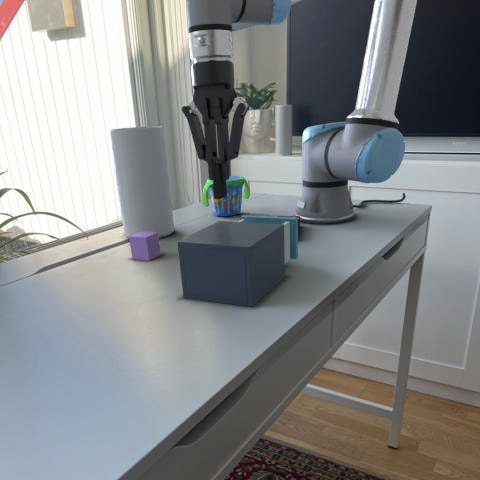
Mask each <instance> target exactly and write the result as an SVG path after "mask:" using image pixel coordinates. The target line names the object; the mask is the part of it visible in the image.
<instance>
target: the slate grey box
mask: <svg viewBox="0 0 480 480" xmlns="http://www.w3.org/2000/svg"><path fill="white" fill-rule="evenodd" d="M176 245H177V252H178V253H177V254H178V261H179V270H180V279H181V287H182V298H183V299H188V300H194V301H195V300H197V301H202V302H203V301H204V302H211V303H219V304H226V305H235V306H243V307H250V308H253V307H254V306H256V304H257V303H259V302H260V301H261V300H262V299H263V298H264V297H265V296H266V295H267V294H269V292H270V291H271V290H273V289H274V288H275V287H276V286H277V285H278V284H279V283H280V282H281V281H283V279H284V278H286V263H285V248H284V224H270V223H250V222H237V221H231V220H229V221H228V220H219V221H218V220H217V221H216V222H214V223H213V224H210V225H208V226H207V227H204V228H202V229H200V230H198V231H196V232H194V233H192V234H190V235H188V236H186V237H184V238H182V239H180V240H178V241H176Z"/></svg>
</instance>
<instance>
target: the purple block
mask: <svg viewBox="0 0 480 480" xmlns="http://www.w3.org/2000/svg"><path fill="white" fill-rule="evenodd" d="M128 239H129V244H130V245H129V246H130V253H131V260H137V261H138V260H139V261H147V262H151V261H152V260H154V259H156V258H158V257H160V256H161V255H162V253H161V251H162V250H161V244H160V243H161V242H160V238H159V236H158V232H146V231H141V232H138V233H136V234H133V235H131V236H129V238H128Z"/></svg>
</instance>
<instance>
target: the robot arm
mask: <svg viewBox="0 0 480 480" xmlns="http://www.w3.org/2000/svg"><path fill="white" fill-rule="evenodd" d="M185 1H186V2H185V4H186V16H187V27H188V40H189V41H188V42H189V43H188V44H189V53H190V55H189V56H190V59H191V61H193V63H192V64H191V66H190V68H191V69H190V71H191V81H192V87H193V93H192V97H191V101H190V102H188V104H187V105H183V106H182V107H181V112H182V114H183V115H184V117H185V118H186V119H187V123H188V127H189V131H190V134H191V137H192V141H193V145H194V148H195V152H196V155H197V158H198V160H200V161H201V160H202V161H204V162H206V163H207V170H208V178H209V179H210V180H213V189H214V199H222V198H224V197H227V188H226V180H229V178H230V176H231V174H230V173H231V172H230V162H231V161H232V160H235V159H237V158H238V157H239V154H240V148H241V142H242V135H243V129H244V123H245V117H246V115H247V113H248V111H249V109H250V104H249V102H243V100H241V99H240V98H238V93H237V92H236V89H235V67H234V66H235V65H234V63H233V61H231V59H233V57H234V42H233V32H237V31H242V30H245V29H248V28H252V27H256V26H266V27H270V26H278V25H281V24H283V23H284V22H285V21H286V20H287V18H288V16H289V14H290V12H291V7H292V5H294V4H297V3H300V2H301V1H303V0H185ZM417 3H418V0H374V3H373V9H372V13H371V14H372V15H371V19H370V25H369V30H368V36H367V41H366V45H365V46H366V47H365V53H364V57H363V64H362V69H361V75H360V81H359V85H358V91H357V97H356V102H355V108H354V110H353V111H352V112H351V113H350V114H349V115H348V116H346V121H337V122H329V123H322V124H317V125H312V126H307V127H306V128H305V129H304V130H303V133H302V139H301V140H302V141H301V158H302V159H301V168H302V170H301V173H302V174H301V177H302V180H301V181H302V185H301V186H302V189H301V192H300V195H299V198H298V200H297V204H296V209H295V216H300V222H302V223H307V224H317V225H318V224H322V225H323V224H324V225H325V224H326V225H327V224H338V223H344V222H347V221H351V220H352V219H354V218H355V209H361V208H363V207H364V204H366V203H367V204H368V203H382V204H386V203H387V204H392V203H393V204H397V203H402V202H403V201H404V200H405V199H406V198H407V196H406V193H405V192H402V198H400V199H394V200H393V199H392V200H391V199H390V200H389V199H366V200H365V199H364V200H362V201H361V202H360V204H359V205H358V204H353V201H352V196H351V194H350V189H349V181H351V182H357V183H358V182H359V183H362V184H381V183H383V182H386V181H388V180H389V179H390V178H391V177H392V176H394V175H395V174H396V172H397V171H398V170H399V168H400V166H401V165H402V162H403V159H404V157H405V151H406V142H404V140H405V138H404V136H403V134H402V132H400V130H399V126H400V121H399V119H398V118H397V117H396V115H395V110H396V105H397V101H398V95H399V92H400V86H401V81H402V76H403V72H404V66H405V61H406V58H407V52H408V47H409V41H410V37H411V33H412V27H413V24H414V23H413V22H414V18H415V13H416V7H417ZM232 109H233V116H232V121H231V128H230V132H229V122H230V113H231V111H232ZM198 112H199V113H200V114H201V119H202V124H203V127H202V124H201V119H200V116H199V115H198ZM203 128H204V129H203ZM203 130H204V131H203ZM229 134H230V135H229ZM354 208H355V209H354Z"/></svg>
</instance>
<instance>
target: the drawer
mask: <svg viewBox="0 0 480 480" xmlns="http://www.w3.org/2000/svg"><path fill="white" fill-rule="evenodd" d="M236 222H250V223H270V224H284V248H285V264H287V263H288V262H289V261H290V260H297V259H298V258H299V230H298V218H292V217H277V216H268V215H245V214H243V215H241V216H240V219H239V220H237V221H236Z"/></svg>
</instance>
